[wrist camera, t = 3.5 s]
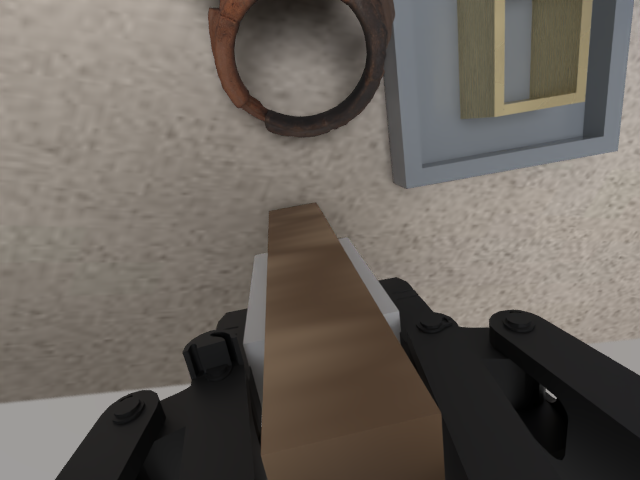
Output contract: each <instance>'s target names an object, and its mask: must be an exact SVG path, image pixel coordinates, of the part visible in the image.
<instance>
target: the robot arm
mask: <svg viewBox="0 0 640 480" xmlns="http://www.w3.org/2000/svg"><path fill="white" fill-rule="evenodd" d="M338 240H339V242H340V243H341V245H342V247H343V248H344V250H345V252H346V253H347V255H348V257H349V259H350V260H351V262H352V264H353V265H354V267H355V269H356V270H357V272H358V274H359V275H360V277H361V279H362V280H363V282H364V284H365V285H366V287H367V289H368V290H369V292H370V294H371V295H372V297H373V299H374V301H375V302H376V304H377V306H378V307H379V309H380V311H381V312H382V314H383V316H384V317H385V319H386V321H387V322H388V324H389V326H390V327H391V329H392V331H393V332H394V334H395V336H396V338H397V339H398V341H399V343H400V344H401V346H402V348H403V349H404V351H405V353H406V354H407V356H408V358H409V359H410V361H411V363H412V364H413V366H414V368H415V369H416V371H417V373H418V375H419V376H420V378H421V380H422V381H423V383H424V385H425V386H426V388H427V390H428V391H429V393H430V395H431V396H432V398H433V400H434V401H435V403H436V405H437V406H438V408H439V410H440V411H441V417H442V434H443V451H444V469H445V480H640V376H639V375H638V374H636V373H635V372H633V371H631V370H629V369H628V368H626V367H624V366H623V365H621V364H619V363H617V362H616V361H614V360H612V359H611V358H609V357H607V356H606V355H604V354H602V353H600V352H599V351H597V350H595V349H594V348H592V347H590V346H589V345H587V344H585V343H584V342H582V341H580V340H579V339H577V338H575V337H574V336H572V335H570V334H568V333H567V332H565V331H563V330H562V329H560V328H558V327H557V326H555V325H553V324H551V323H550V322H548V321H546V320H545V319H543V318H541V317H539V316H537V315H535V314H532V313H529V312H525V311H521V310H506V311H499V312H497V313H495V314H493V315H492V316H491V318H490V319H489V328H466V327H459V326H458V324H457V323H456V322H455V321H454V320H453V319H452V318H451V317H449V316H447V315H444V314H441V313H435V312H433V311H432V310H431V309H430V308H429V306H428V305H427V304H426V303H425V302H424V301H423V300H422V298H421V297H420V296H418V294H417V293H416V292H415V290H413V288H412V287H411V286H410V285H409V284H408V282H406V281H404V280H402V279H399V278H397V277H395V278H390V279H385V280H380V281H378V280H377V279H376V277H375V276H374V274H373V273H372V271H371V270H370V268H369V267H368V266H367V264H366V263H365V261H364V260H363V258H362V257H361V255H360V254H359V253H358V251H357V250H356V248H355V247H354V245H353V244H352V242H351V241H350V240H349V238H348V237H346V238H340V239H338ZM267 258H268V253H263V254H258V255H255V258H254V265H253V273H252V280H251V288H250V295H249V303H248V309H243V310H238V311H233V312H228V313H226V314H225V315H224V316H223V317H222V318H221V319H220V321H219V322H218V325H217V329H216V330H213V331H209V332H206V333H204V334H201V335H199V336H198V337H196V338H194V339H193V340H191V341H190V342H189V343H188V344H187V345H186V346H185V348H184V350H183V355H184V358H185V361H186V364H187V367H188V370H189V373H190V376H191V379H192V382H191V386H190V387H188V388H187V389H185V390H183V391H181V392H179V393H177V394H175V395H173V396H170V397H168V398H166V399H163V400H161V401H160V400H159V397H158V395H157V393H155V392H153V391H151V390H141V391H138V392H134V393H131V394H128V395H127V396H124V397H122V398H120V399H119V400H118V401H116V402H115V403H113V404H112V405H111V406H109V407H108V408H107V410H106V411H105V412H104V413H103V414H102V415H101V416H100V418H99V419H98V420H97V422H96V423H95V425H94V426H93V427H92V429H91V430H90V432H89V433H88V434H87V436H86V437H85V439H84V440H83V441H82V443H81V444H80V445H79V447H78V448H77V450H76V451H75V453H74V454H73V455H72V457H71V458H70V460H69V461H68V462H67V464H66V465H65V466H64V468H63V469H62V471H61V472H60V474H59V475H58V476H57V478H56V479H55V480H268V479H267V476H266V472H265V469H264V465H263V462H262V458H261V432H262V427H261V423H262V403H263V374H264V345H265V316H266V287H267ZM545 389H547V390H549V391H550V392H551V393H552V394H554V395H555V396H556V397H557V399H555V398H553V397H551V396H550V395H549V394H548V393H547V392H545V391H546V390H545Z"/></svg>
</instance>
